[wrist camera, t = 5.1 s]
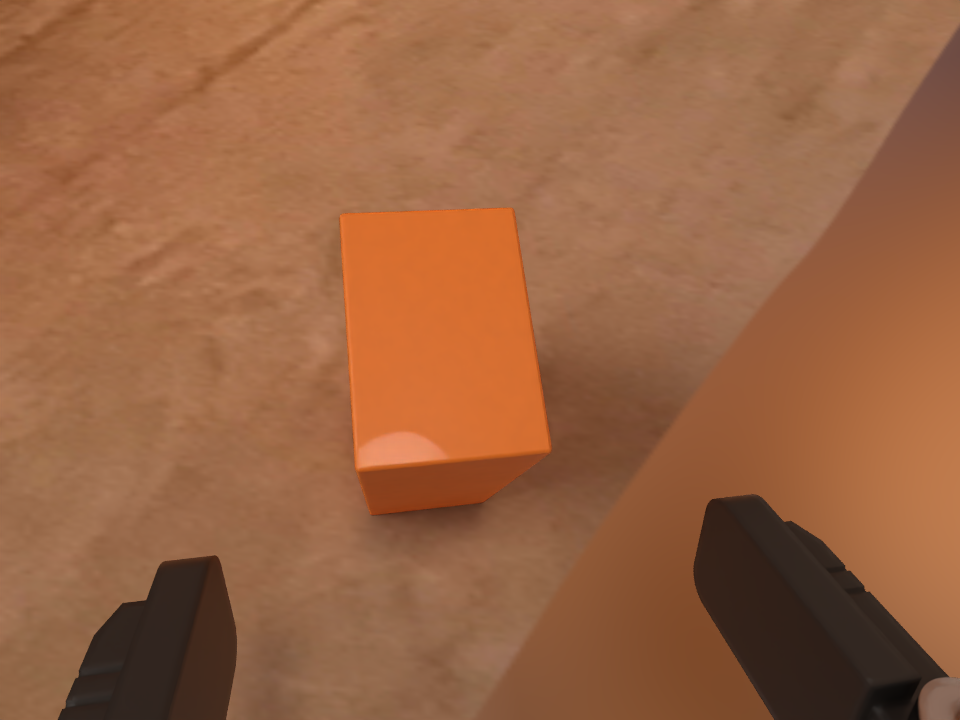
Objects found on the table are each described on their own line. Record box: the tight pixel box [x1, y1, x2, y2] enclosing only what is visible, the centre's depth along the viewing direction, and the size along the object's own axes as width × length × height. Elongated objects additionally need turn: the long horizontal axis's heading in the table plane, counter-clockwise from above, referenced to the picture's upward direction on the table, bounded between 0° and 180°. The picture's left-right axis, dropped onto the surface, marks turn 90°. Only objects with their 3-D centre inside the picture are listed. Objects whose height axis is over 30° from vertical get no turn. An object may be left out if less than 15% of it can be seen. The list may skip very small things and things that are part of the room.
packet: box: [339, 208, 552, 515], centre depth 16 cm, size 5×4×9 cm
